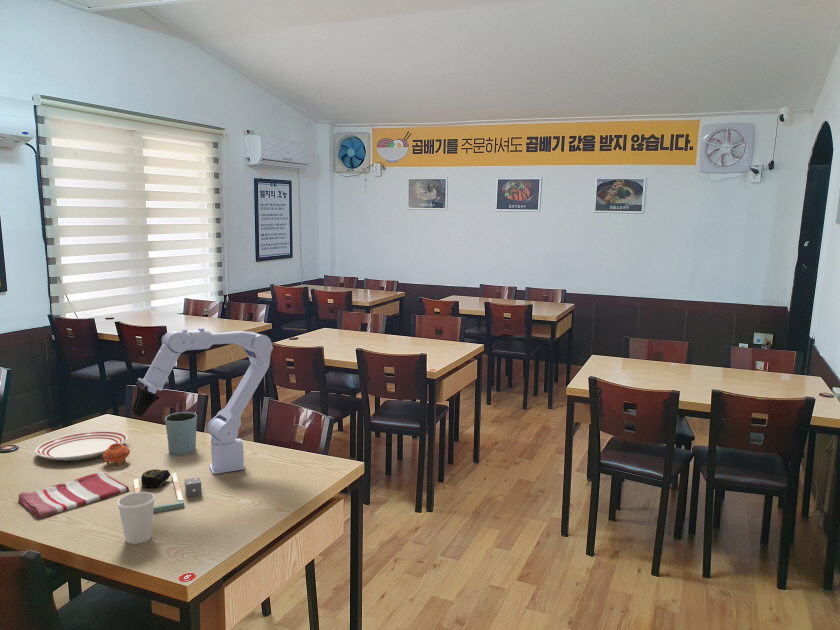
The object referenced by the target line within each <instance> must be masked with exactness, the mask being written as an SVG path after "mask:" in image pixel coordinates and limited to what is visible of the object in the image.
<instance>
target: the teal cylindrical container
mask: <svg viewBox="0 0 840 630" xmlns="http://www.w3.org/2000/svg"><path fill="white" fill-rule="evenodd" d="M164 422H165V429H166V435H167V436H166V437H167V445H168V447H167V449H168V453H169V454H170V455H173V456H183V455H188V454H191V453H194V452H195V451H196V450H197V448H196V447H197V443H196V442H197V424H198V415H197V413H195V412H190V411H181V412H174V413H171V414H168V415H166V416H165V418H164Z"/></svg>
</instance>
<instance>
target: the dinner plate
mask: <svg viewBox="0 0 840 630" xmlns="http://www.w3.org/2000/svg"><path fill="white" fill-rule="evenodd" d="M128 439H129V437H128V435H127V434H125V433H123V432H121V431H114V430H93V431H85V432H84V431H83V432H77V433H72V434H66V435H63V436H59V437H55V438H52V439H50V440H47V441H45V442H43V443H40V444H39V445H38V446H37V447H36V448H35V449H34V453H35V454H36V455H38V456H39V457H42V458H44V459H49V460H54V461H62V460H63V461H64V462H74V461H83V460H89V459H93V458H97V457H100V456H103V453H104V452H105V451H106V450H107V449H108V448H109V446H110V445H112V444H116V443H117V444H122V445H124V444H125V443H126V442H127V441H128Z"/></svg>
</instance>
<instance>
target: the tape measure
mask: <svg viewBox="0 0 840 630" xmlns="http://www.w3.org/2000/svg"><path fill="white" fill-rule="evenodd" d="M171 475H172V473H171V472H170V471H169V470H167V469H163V470H162V469H159V468H158V469H157V468H156V469H154V468H153V469H149V470H146V471H144V472H143V473H142V475H141V480H140V481H141V485H142V486H143V487H146V488H157V487H161V486H162V485H163V484H164V483H165V482H167V480H168V479H169V478H170V477H171Z"/></svg>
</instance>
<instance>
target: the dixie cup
mask: <svg viewBox="0 0 840 630" xmlns="http://www.w3.org/2000/svg"><path fill="white" fill-rule="evenodd" d="M155 499H156V495H155V494H154V493H152V492H148V491H147V492H146V491H142V492H141V491H140V492H137V493H135V492H132V493H128V494H126V495H123V496H121V497H120V498H119V499H118V500H117V501H116V504H117V506H118V510H119V515H120V520H121V525H122V528H123V533H124V538H125V543H126V544H129V543H131V544H130V545H138V543H139V544H142V542H143V543H145V542H147V541H149V540H151V539H152V533H153V532H152V530H153V517H154V513H153V508H154V506H155Z"/></svg>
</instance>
